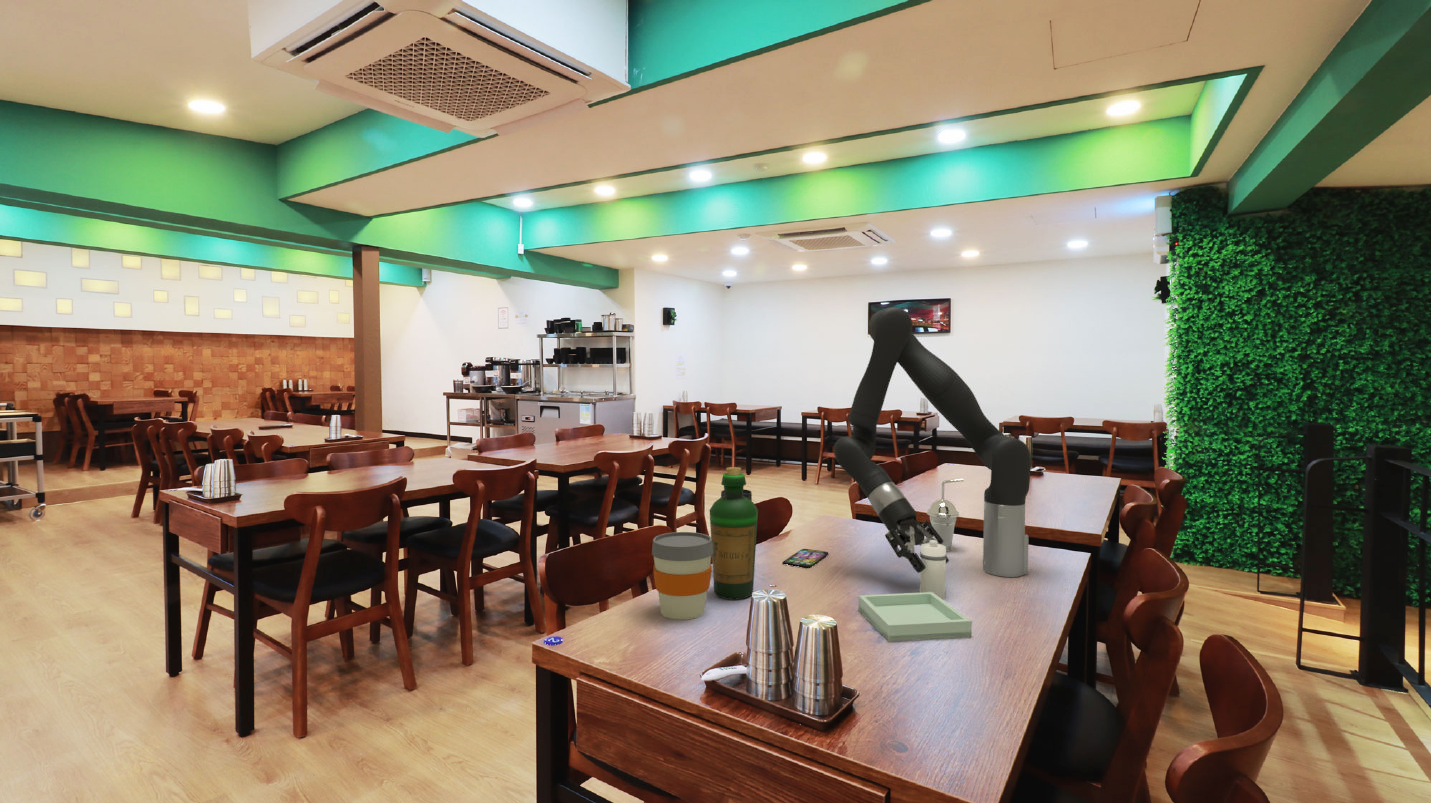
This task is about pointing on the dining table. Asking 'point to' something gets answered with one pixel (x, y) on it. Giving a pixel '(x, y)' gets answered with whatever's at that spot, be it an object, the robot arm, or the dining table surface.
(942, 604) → the pale green rectangular tray
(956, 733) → the dining table surface
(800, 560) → the smartphone
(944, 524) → the cup with straw
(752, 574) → the bottle
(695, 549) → the reusable coffee cup
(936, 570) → the white capped canister
